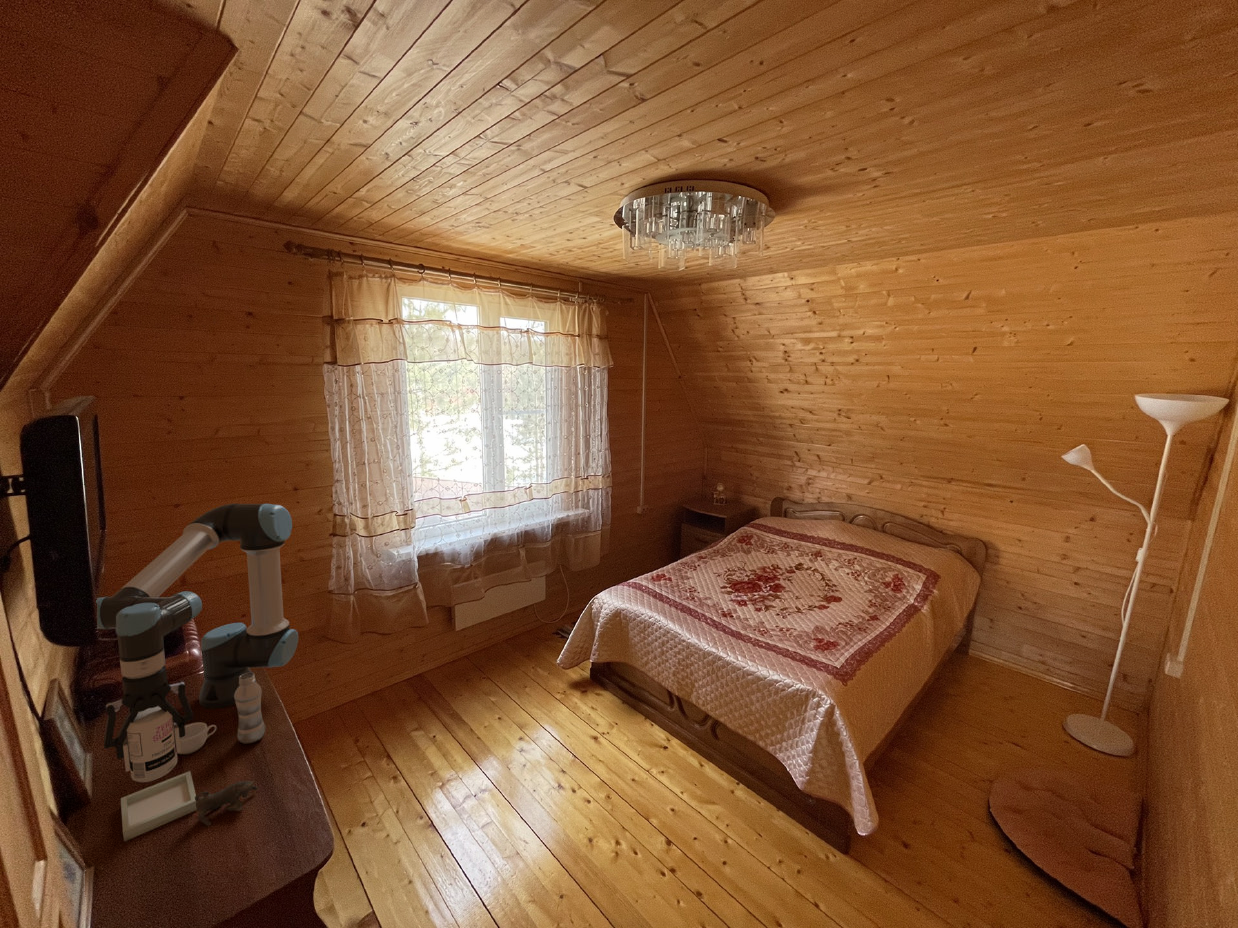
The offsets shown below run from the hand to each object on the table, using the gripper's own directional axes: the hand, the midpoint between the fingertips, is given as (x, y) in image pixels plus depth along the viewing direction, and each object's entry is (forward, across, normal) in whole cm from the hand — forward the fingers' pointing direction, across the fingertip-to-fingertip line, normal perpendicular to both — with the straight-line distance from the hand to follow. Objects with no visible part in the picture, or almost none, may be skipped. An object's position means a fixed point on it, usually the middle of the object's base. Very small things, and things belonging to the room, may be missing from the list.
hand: (153, 758), depth 122 cm
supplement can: (+3, 0, 0) cm, 3 cm away
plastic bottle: (+14, +21, +14) cm, 29 cm away
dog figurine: (+14, +12, -11) cm, 22 cm away
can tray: (+14, 0, 0) cm, 14 cm away
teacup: (+14, +9, +21) cm, 27 cm away
